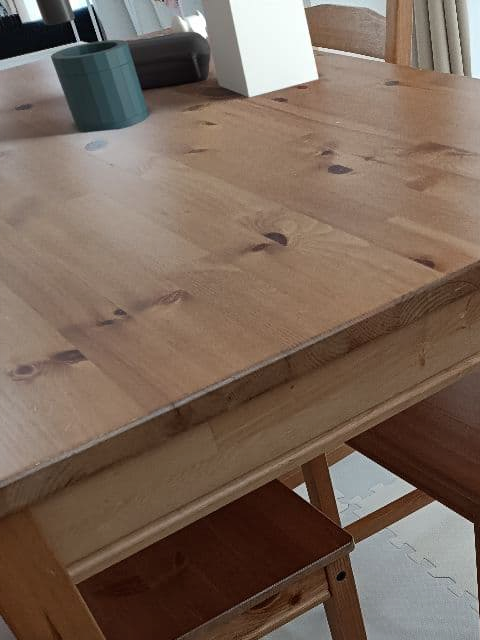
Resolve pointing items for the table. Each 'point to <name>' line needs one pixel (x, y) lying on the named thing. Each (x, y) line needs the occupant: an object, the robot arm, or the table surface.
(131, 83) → the jar
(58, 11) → the brush
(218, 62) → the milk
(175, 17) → the elephant figurine
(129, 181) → the table surface
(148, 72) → the glasses case
